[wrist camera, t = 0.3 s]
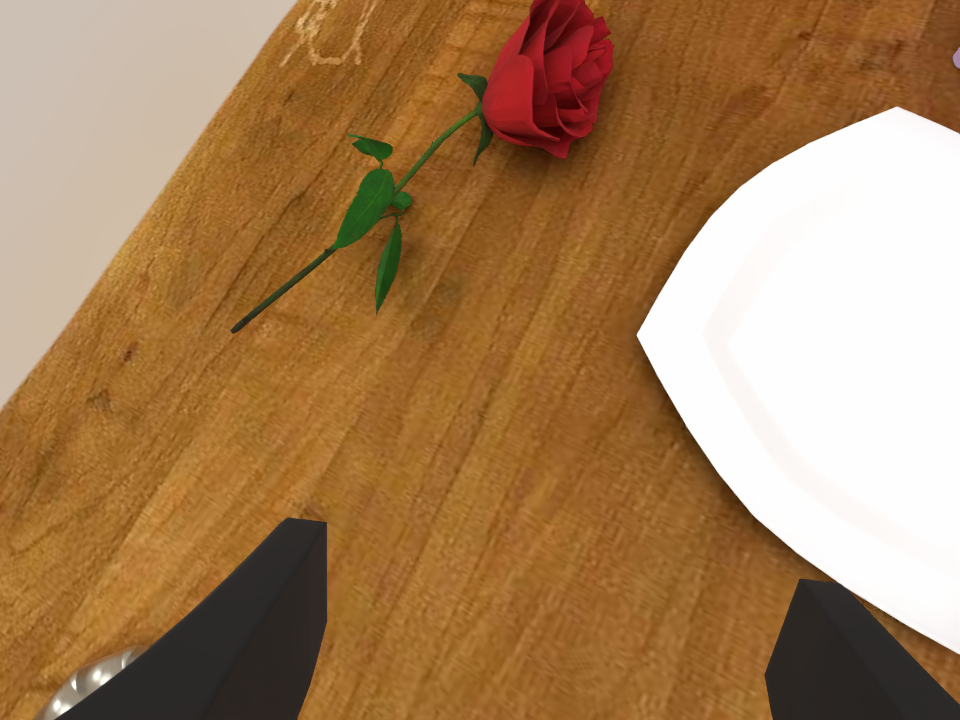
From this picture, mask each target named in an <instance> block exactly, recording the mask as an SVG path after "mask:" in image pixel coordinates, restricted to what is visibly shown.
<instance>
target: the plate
mask: <svg viewBox="0 0 960 720" xmlns="http://www.w3.org/2000/svg"><path fill="white" fill-rule="evenodd" d="M637 337H638V339H639V341H640V343H641V345H642V347H643V349H644V350H645V352H646V354H647V356H648V358H649V360H650V362H651V364H652V366H653V368H654V370H655V372H656V374H657V376H658V378H659V379H660V381H661V383H662V385H663V386H664V388H665V390H666V391H667V393H668V395H669V397H670V398H671V400H672V402H673V403H674V405H675V407H676V409H677V410H678V412H679V414H680V416H681V417H682V419H683V421H684V422H685V424H686V426H687V428H688V429H689V431H690V432H691V434H692V435H693V437H694V438H695V440H696V441H697V443H698V444H699V445H700V447H701V448H702V450H703V451H704V453H705V454H706V456H707V457H708V459H709V460H710V462H711V463H712V465H713V466H714V468H715V469H716V470H717V472H718V473H719V475H720V476H721V477H722V478H723V480H724V481H725V482H726V483H727V484H728V486H729V487H730V488H731V489H732V490H733V492H734V493H735V494H736V495H737V497H738V498H739V499H740V500H741V501H742V503H743V504H744V505H745V506H746V507H747V509H748V510H749V511H750V512H751V514H752V515H753V516H754V517H755V518H757V519H758V520H759V521H760V522H761V523H762V524H764V525H765V526H766V527H767V528H768V529H769V530H771V531H772V532H773V533H774V534H775V535H776V536H778V537H779V538H780V539H781V540H782V541H783V542H785V543H786V544H787V545H788V546H789V547H790V548H792V549H793V550H794V551H795V552H796V553H798V554H799V555H801V556H802V557H803V558H805V559H806V560H808V561H809V562H810V563H812V564H813V565H815V566H816V567H817V568H819V569H820V570H822V571H823V572H824V573H826V574H827V575H829V576H830V577H831V578H833V579H834V580H836V581H837V582H839V583H841V584H842V585H843V586H844V587H846V588H847V589H849V590H850V591H852V592H854V593H855V594H857V595H858V596H860V597H862V598H863V599H865V600H867V601H868V602H870V603H871V604H873V605H875V606H876V607H878V608H880V609H881V610H883V611H884V612H886V613H888V614H889V615H891V616H893V617H894V618H896V619H897V620H899V621H901V622H902V623H904V624H906V625H907V626H909V627H911V628H913V629H914V630H916V631H918V632H920V633H922V634H923V635H925V636H927V637H929V638H931V639H932V640H934V641H936V642H938V643H940V644H941V645H943V646H945V647H947V648H949V649H950V650H952V651H954V652H956V653H958V654H959V655H960V134H959V133H957V132H954V131H952V130H950V129H948V128H946V127H944V126H942V125H939V124H937V123H935V122H932V121H930V120H928V119H925V118H923V117H921V116H918V115H916V114H913V113H911V112H909V111H906V110H904V109H902V108H899V107H895V108H893V109H890V110H888V111H885V112H883V113H880V114H878V115H875V116H873V117H870V118H868V119H865V120H862V121H860V122H857V123H855V124H853V125H850V126H848V127H846V128H843V129H841V130H839V131H836V132H834V133H832V134H830V135H827V136H825V137H823V138H820V139H818V140H816V141H813V142H811V143H809V144H807V145H805V146H804V147H802V148H800V149H798V150H796V151H794V152H793V153H791V154H789V155H787V156H785V157H783V158H782V159H780V160H778V161H776V162H774V163H772V164H771V165H769V166H768V167H767V168H765V169H764V170H763V171H761V172H760V173H759V174H757V175H756V176H754V177H753V178H752V179H750V180H749V181H748V182H746V183H745V184H743V185H742V186H741V187H739V188H738V189H737V190H736V192H735V193H734V194H733V195H732V196H731V197H730V198H729V199H728V200H727V201H726V202H725V203H724V204H723V205H722V206H721V207H720V208H719V209H718V210H717V211H716V212H715V213H714V214H713V215H712V216H711V217H710V219H709V220H708V221H707V223H706V224H705V225H704V227H703V228H702V229H701V231H700V232H699V233H698V235H697V236H696V237H695V239H694V240H693V241H692V243H691V244H690V245H689V247H688V248H687V249H686V251H685V252H684V254H683V256H682V257H681V259H680V261H679V262H678V264H677V266H676V267H675V269H674V271H673V272H672V274H671V276H670V277H669V279H668V281H667V282H666V284H665V286H664V287H663V289H662V291H661V292H660V294H659V296H658V298H657V299H656V301H655V303H654V305H653V307H652V308H651V310H650V312H649V314H648V316H647V317H646V319H645V321H644V323H643V325H642V326H641V328H640V330H639V332H638V334H637Z"/></svg>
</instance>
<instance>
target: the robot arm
mask: <svg viewBox="0 0 960 720" xmlns="http://www.w3.org/2000/svg"><path fill="white" fill-rule="evenodd" d="M326 623H327V522H320V521H312V520H304V519H295V518H286V519H285V520H284V521H282V522H281V523H280V524H279V525H278V526H277V527H276V528H275V529H274V530H273V531H272V532H271V533H270V534H269V535H268V537H267V538H266V539H265V540H264V541H263V542H262V543H261V544H260V545H259V546H258V547H257V548H256V549H255V550H254V551H253V552H252V553H251V554H250V555H249V556H248V557H247V558H246V559H245V560H244V561H243V562H242V563H241V564H240V565H239V566H238V567H237V568H236V569H235V570H234V571H233V572H232V573H231V574H230V575H229V576H228V577H227V578H226V579H225V580H224V581H223V582H222V583H221V584H220V585H219V586H218V587H217V588H216V589H215V590H213V591H212V592H211V593H210V594H209V595H208V596H207V597H206V598H205V599H204V600H203V601H202V602H201V603H200V604H199V605H198V606H196V607H195V608H194V609H193V610H192V611H191V612H190V613H189V614H188V615H187V616H186V617H184V618H183V619H182V620H181V621H180V622H179V623H178V624H176V625H175V626H174V627H173V628H172V629H170V630H169V631H168V632H167V633H166V634H165V635H163V636H162V637H161V638H160V639H159V640H158V641H156V642H155V643H154V644H153V645H152V646H151V647H149V648H148V649H147V650H146V651H145V652H144V653H142V654H141V655H140V656H139V657H138V658H136V659H135V660H134V661H133V662H131V663H130V664H129V665H127V666H126V667H125V668H124V669H122V670H121V671H120V672H119V673H117V674H116V675H115V676H113V677H112V678H111V679H110V680H108V681H107V682H106V683H104V684H103V685H102V686H100V687H99V688H98V689H96V690H95V691H93V692H92V693H91V694H89V695H88V696H87V697H85V698H84V699H83V700H81V701H80V702H79V703H77V704H76V705H74V706H73V707H71V708H70V709H69V710H67V711H66V712H64V713H63V714H61V715H60V716H58V717H57V718H55V719H54V720H297V718H298V715H299V712H300V710H301V707H302V705H303V702H304V699H305V697H306V694H307V692H308V689H309V686H310V683H311V680H312V676H313V672H314V669H315V665H316V661H317V658H318V654H319V650H320V646H321V642H322V639H323V635H324V631H325V627H326ZM765 680H766V685H767V691H768V697H769V702H770V708H771V713H772V718H773V720H960V705H959V704H958V703H957V702H956V701H955V700H954V699H953V698H952V697H951V696H950V695H949V694H948V693H947V692H946V691H945V690H944V689H943V688H942V687H941V686H940V685H939V684H938V683H937V682H936V681H935V680H934V679H933V678H932V677H931V676H930V674H929V673H928V672H927V671H926V670H925V669H924V668H923V667H922V666H921V665H920V664H919V663H918V662H917V661H916V660H915V659H914V658H913V657H912V656H911V655H910V654H909V653H908V652H907V651H906V650H905V649H904V648H903V647H902V646H901V645H900V644H899V642H898V641H897V640H896V639H895V638H894V637H893V636H892V635H891V634H890V633H889V632H888V631H887V630H886V629H885V628H884V627H883V626H882V625H881V624H880V623H879V622H878V621H877V620H876V619H875V617H874V616H873V615H872V614H871V613H870V612H869V611H868V610H867V609H866V608H865V607H864V606H863V605H862V604H861V603H860V602H859V601H858V600H857V599H856V598H855V597H854V596H853V595H852V594H851V593H850V592H849V591H848V590H847V589H846V588H845V587H844V586H843V585H842V584H841V583H832V582H824V581H815V580H807V579H799V582H798V585H797V588H796V590H795V593H794V596H793V599H792V601H791V604H790V607H789V609H788V612H787V615H786V618H785V620H784V623H783V626H782V629H781V631H780V634H779V637H778V640H777V642H776V645H775V648H774V650H773V653H772V656H771V659H770V661H769V664H768V667H767V670H766V672H765Z"/></svg>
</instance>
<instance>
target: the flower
mask: <svg viewBox="0 0 960 720" xmlns="http://www.w3.org/2000/svg"><path fill="white" fill-rule="evenodd" d="M610 33H611V32H610V31H609V30H608V29H607V27H606V23H605V20H604V18H603V16H601V17H599V18H596V19H594V15H593V13H592V12H591V10H590V9H589V8H588V7H587V5H586V4H585V1H584V0H534V1H533V3H532V5H531V7H530V13H529V16H528V17H527V19H526V20H525V21H524V22H523V23H522V25H521V26H520V27H519V28H518V29H517V31H516V32H515V33H514V34H513V35H512V37H511V38H510V39H509V40H508V42H507V43H506V44H505V46H504V47H503V48H502V51H501V53H500V55H499V57H498V59H497V62H496V64H495V66H494V68H493V70H492V73H491V75H490V77H489V80H488V83H487V80H486V78H484V77H482V76H479V75H466V74H462V73H458V74H457V75H458V76H459V78H460V79H461V80H462V81H463V82H465V83H466V84H468V85H470V87H471V88H472V89H473V90H474V92H475V94H476V95H477V97H478V98H479V100H480V101H479V102H478V104H477V107H475V110H473V111H472V112H470V113H469V114H468V115H466V116H465V117H464V118H462V119H461V120H459V121H458V122H457V123H455V124H454V125H453V126H452V127H450V128H449V129H448V130H447V131H446V132H445V133H443V134H442V135H441V136H440V137H439V138H438V139H437V140H436V141H435V142H434V143H433V141H432V144H431V146H430V148H429V149H428V150H427V151H426V152H425V154H424V155H423V156H422V157H421V158H420V159H419V161H418V162H417V163H416V164H415V165H414V166H413V167H412V169H411V170H410V171H409V172H408V173H407V174H406V175H405V177H404V178H403V179H402V180H401V181H400V182H399V183H398V184H397V186H396V187H395V184H394V180H393V177H392V173H390V172H389V171H388V169H387V170H384V169H382V166H383V162H382V159H386V158H388V157H389V156H390V155H391V154H392V151H393V148H392V146H391V145H390V144H387V143H384V142H381V141H378V140H373V139H369V138H365V137H361V136H357V135H351V134H348V135H349V137H357V138H359V139H361V140H358V141H356V142H354V143H352V145H353V146H355V147H356V148H357V149H358V150H359V151H360V152H362V153H364V154H366V155H371V156H374V157H375V158H376V159H377V160H378V161H379V162H381V164H380V169H374V170H373V171H371V172H369V173H368V174H367V175H366V176H365V177H364V179H363V181H362V182H361V184H360V187H359V190H358V192H357V195H356V196H355V198H354V199H353V202H352V204H351V205H350V207H349V209H348V211H347V213H346V215H345V218H344V220H343V222H342V225H341V227H340V230H339V233H338V236H337V240H336V241H335V243H334V244H333V245H332V246H331V247H330V248H329V249H325V252H324V253H323V254H322V255H320V256H319V257H318V258H317V259H316V260H314V261H313V262H312V263H311V264H309V265H308V266H307V267H306V268H304V269H303V270H302V271H301V272H299V273H298V274H297V275H296V276H294V277H293V278H292V279H291V280H290V281H288V282H287V283H286V284H285V285H283V286H282V287H281V288H280V289H278V290H277V291H276V292H275V293H273V294H272V295H271V296H270V297H268V298H267V299H266V300H265V301H263V302H262V303H261V304H260V305H258V306H257V307H256V308H255V309H254V310H253V311H251V312H250V313H249V314H248V315H247V316H245V317H244V318H243V319H242V320H241V321H239V322H238V323H237V324H236V325H235V326H234V327H233V328H232V329H231V332H232V333H233V334H234V333H236V332H237V331H239V330H240V329H241V328H243V327H244V326H245V325H246V324H247V323H249V322H250V321H251V320H252V319H253V318H254V317H256V316H257V315H258V314H259V313H260V312H262V311H263V310H264V309H265V308H267V307H268V306H269V305H270V304H271V303H273V302H274V301H275V300H276V299H278V298H279V297H280V296H281V295H283V294H284V293H285V292H286V291H288V290H289V289H290V288H291V287H293V286H294V285H295V284H296V283H297V282H299V281H300V280H301V279H302V278H304V277H305V276H306V275H307V274H309V273H310V272H311V271H312V270H314V269H315V268H316V267H317V266H318V265H320V264H321V263H322V262H323V261H324V260H325V259H327V258H328V257H329V256H330V255H331V254H332V253H333V252H335V251H336V250H337V249H338V248H342V247H347V246H348V245H350V244H352V243H354V242H355V241H357V240H359V239H360V238H361V237H362V236H363V235H364V234H366V233H367V232H368V231H369V230H370V229H371V228H372V227H373V226H374V225H375V224H376V223H377V222H378V221H379V220H380V219H383V218H386V217H388V216H392V215H394V216H395V217H396V222H395V225H394V228H393V230H392V233H391V235H390V238H389V241H388V243H387V245H386V247H385V249H384V251H383V253H382V257H381V260H380V264H379V267H378V273H377V281H376V289H375V298H376V316H377V313H378V310H379V309H380V307H381V305H382V303H383V300H384V299H385V298H386V295H387V292H388V291H389V289H390V286H391V284H392V282H393V281H394V278H395V276H396V273H397V268H398V263H399V259H400V253H401V242H402V241H401V237H402V235H401V229H400V225H399V224H398V216H401V215H402V214H403V212H404V211H403V210H404V209H405V208H407V207H408V206H410V204H411V202H412V198H411V196H410V195H409V194H408V193H406V192H399V191H400V190H401V189H402V188H403V187H404V186H405V185H406V183H407V182H408V181H409V180H410V179H411V178H412V177H413V175H414V174H415V173H416V172H417V171H418V170H419V168H420V167H421V166H422V165H423V164H424V163H425V162H426V161H427V159H428V158H429V157H430V156H431V155H432V154H433V153H434V151H435V150H436V149H437V148H438V147H439V146H440V145H441V143H442V142H443V141H444V140H445V139H447V138H448V137H449V136H450V135H451V134H452V133H454V132H455V131H456V130H457V129H458V128H460V127H461V126H462V125H464V124H465V123H466V122H468V121H469V120H471V119H472V118H473V117H475V116H479V117H480V120H481V126H482V131H481V138H480V143H479V147H478V150H477V153H476V155H475V158H474V161H473V167H474V165H475V163H476V161H477V158H478V156H479V154H480V153H481V152H482V151H483V150H484V149H485V148H486V147H487V146H488V145H489V144H490V141H491V139H492V137H493V133H494V134H495V135H496V136H497V137H498V138H499V139H501V140H505V141H508V142H510V143H513V144H517V145H520V146H534V147H540V148H543V149H545V150H546V151H548V152H550V153H551V154H553V155H554V156H556V157H558V158H562V159H564V158H566V157H567V154H568V150H569V145H570V143H571V141H574V140H576V139H578V138H581V137H584V136H586V135H587V134H589V133H590V132H591V131H592V130H593V126H592V123H596V121H597V111H598V104H599V100H600V94H601V90H602V88H603V85H604V83H605V81H606V79H607V77H608V75H609V74H610V72H611V70H612V67H613V59H612V54H613V49H614V45H613V44H612V42H611V41H610V39H608V40H603V38H605V37H606V36H608V35H609V34H610ZM390 204H392V205H393V206H395V207H396V208H398V209H400V210H402V213H401V214H396V213H392V214H388V215H386V216H383V217H381V216H382V215H383V214H384V212H385V211H386V210H387V208H388V207H389V205H390Z"/></svg>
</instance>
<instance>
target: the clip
mask: <svg viewBox="0 0 960 720" xmlns="http://www.w3.org/2000/svg"><path fill="white" fill-rule="evenodd" d="M953 62H954V65H955V66H956V67H957V68H958V69H960V48H959V49H958V50H957V51H956V53H955V54H954V55H953Z"/></svg>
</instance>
